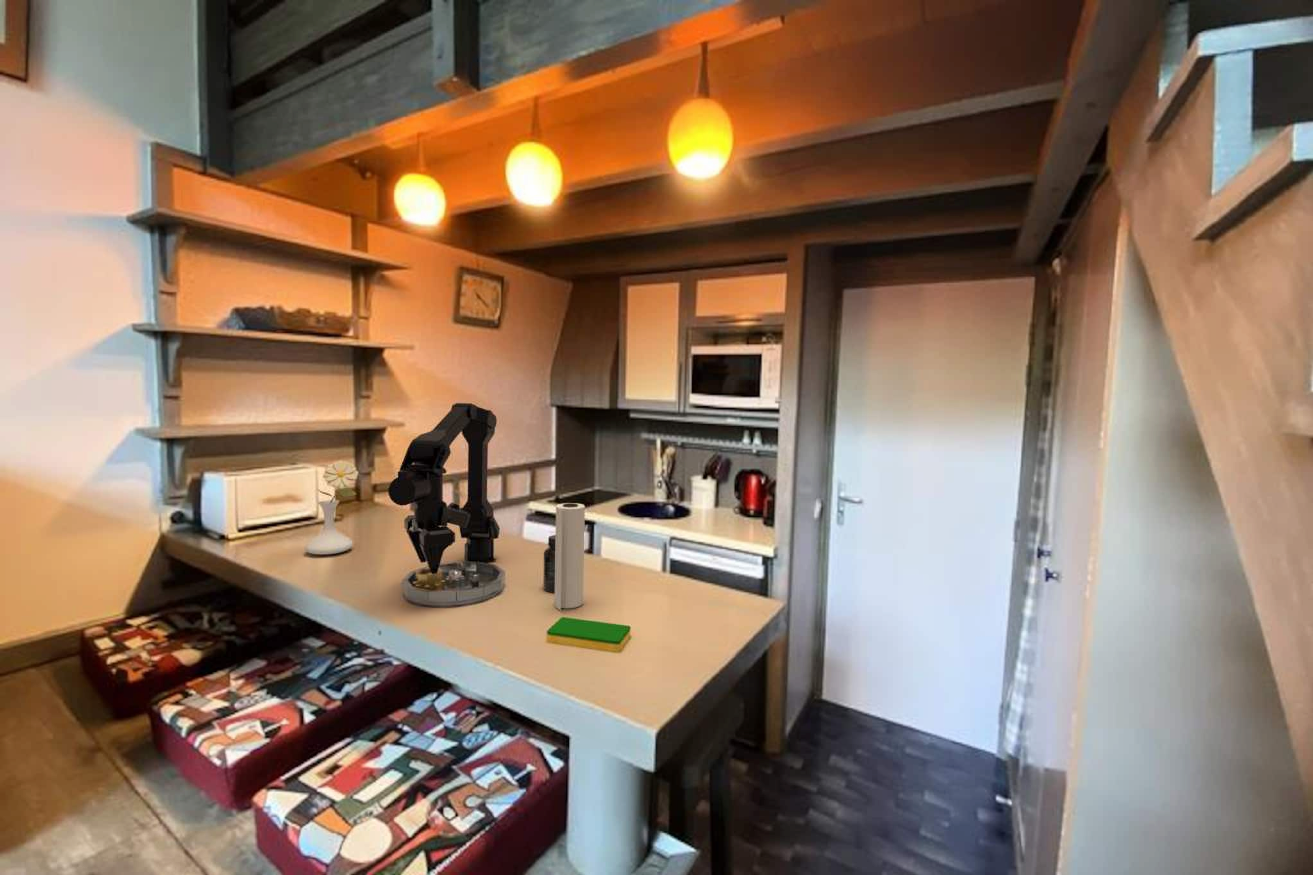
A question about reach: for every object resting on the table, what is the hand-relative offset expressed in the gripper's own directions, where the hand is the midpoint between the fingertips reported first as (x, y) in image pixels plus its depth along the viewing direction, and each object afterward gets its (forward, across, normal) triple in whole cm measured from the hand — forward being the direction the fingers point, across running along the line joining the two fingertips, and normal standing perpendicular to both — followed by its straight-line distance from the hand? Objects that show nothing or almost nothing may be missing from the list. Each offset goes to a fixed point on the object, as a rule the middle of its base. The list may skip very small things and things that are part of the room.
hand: (428, 567), depth 122 cm
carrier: (+6, 0, -6) cm, 8 cm away
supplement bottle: (+6, -11, -26) cm, 29 cm away
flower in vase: (+6, +46, +13) cm, 48 cm away
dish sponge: (+7, -38, -19) cm, 43 cm away
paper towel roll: (+6, -21, -23) cm, 31 cm away
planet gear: (+5, 0, 0) cm, 5 cm away
